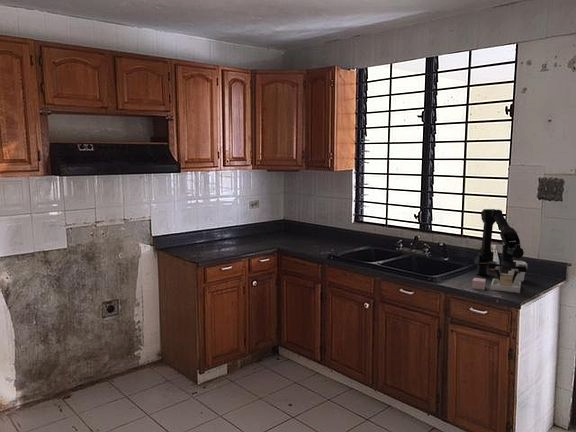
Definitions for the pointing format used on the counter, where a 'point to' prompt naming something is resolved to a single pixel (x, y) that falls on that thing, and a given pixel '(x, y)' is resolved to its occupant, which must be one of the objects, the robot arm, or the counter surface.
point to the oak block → (506, 279)
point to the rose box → (478, 283)
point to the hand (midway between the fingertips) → (506, 282)
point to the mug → (520, 275)
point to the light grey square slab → (514, 288)
